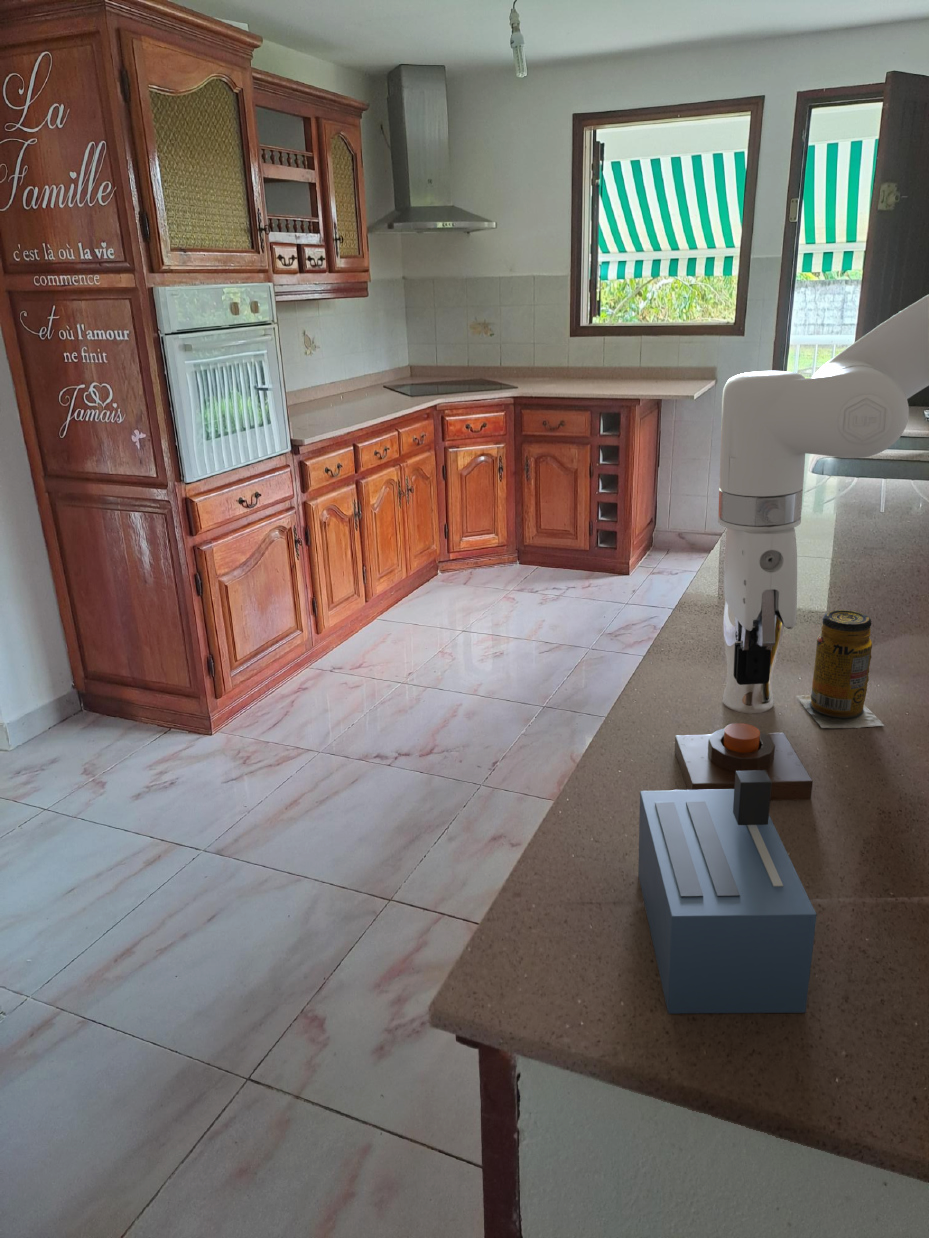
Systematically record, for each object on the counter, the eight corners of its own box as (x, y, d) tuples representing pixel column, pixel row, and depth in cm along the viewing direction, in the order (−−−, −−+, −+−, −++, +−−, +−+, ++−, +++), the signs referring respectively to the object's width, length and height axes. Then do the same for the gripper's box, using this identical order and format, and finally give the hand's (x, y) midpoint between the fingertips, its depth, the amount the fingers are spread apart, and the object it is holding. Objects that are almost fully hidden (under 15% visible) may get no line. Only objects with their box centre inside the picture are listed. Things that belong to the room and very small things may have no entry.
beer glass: (770, 720, 105) (780, 603, 99) (712, 709, 108) (718, 595, 103) (782, 696, 110) (792, 583, 105) (726, 686, 114) (733, 577, 108)
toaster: (750, 873, 79) (756, 787, 76) (805, 1012, 64) (817, 913, 61) (638, 875, 80) (639, 789, 77) (667, 1013, 65) (671, 915, 62)
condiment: (853, 694, 110) (864, 604, 105) (884, 727, 102) (897, 631, 98) (795, 697, 110) (803, 608, 106) (821, 730, 102) (831, 635, 98)
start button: (753, 736, 95) (755, 722, 94) (763, 753, 91) (764, 739, 91) (720, 737, 95) (720, 723, 94) (727, 754, 92) (728, 740, 91)
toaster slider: (762, 812, 72) (765, 769, 71) (768, 824, 71) (771, 782, 69) (732, 812, 72) (735, 770, 71) (737, 825, 71) (740, 782, 69)
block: (782, 749, 99) (785, 718, 97) (811, 799, 89) (814, 765, 88) (674, 752, 99) (675, 721, 98) (691, 802, 90) (693, 768, 89)
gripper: (826, 525, 76) (811, 713, 83) (777, 486, 90) (768, 649, 97) (738, 530, 77) (731, 716, 84) (703, 491, 91) (699, 653, 97)
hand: (751, 680), depth 90 cm, fingers closed
